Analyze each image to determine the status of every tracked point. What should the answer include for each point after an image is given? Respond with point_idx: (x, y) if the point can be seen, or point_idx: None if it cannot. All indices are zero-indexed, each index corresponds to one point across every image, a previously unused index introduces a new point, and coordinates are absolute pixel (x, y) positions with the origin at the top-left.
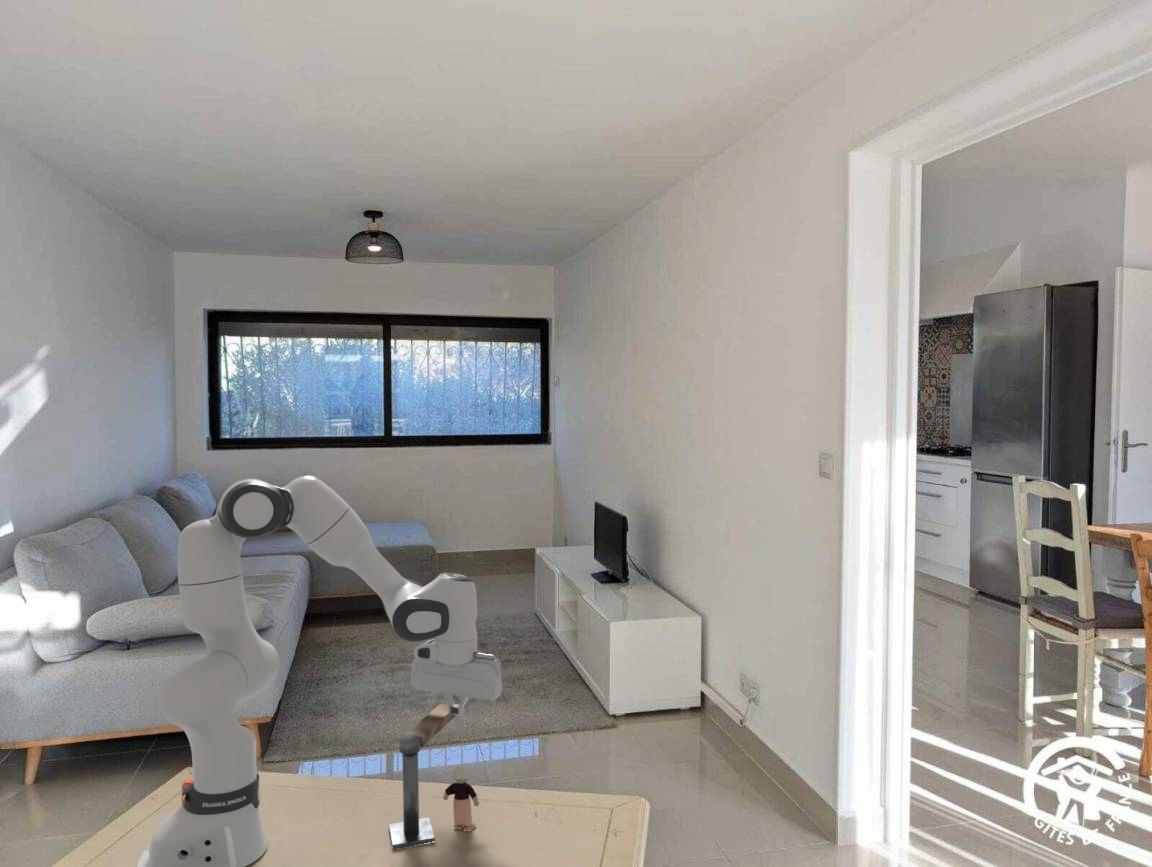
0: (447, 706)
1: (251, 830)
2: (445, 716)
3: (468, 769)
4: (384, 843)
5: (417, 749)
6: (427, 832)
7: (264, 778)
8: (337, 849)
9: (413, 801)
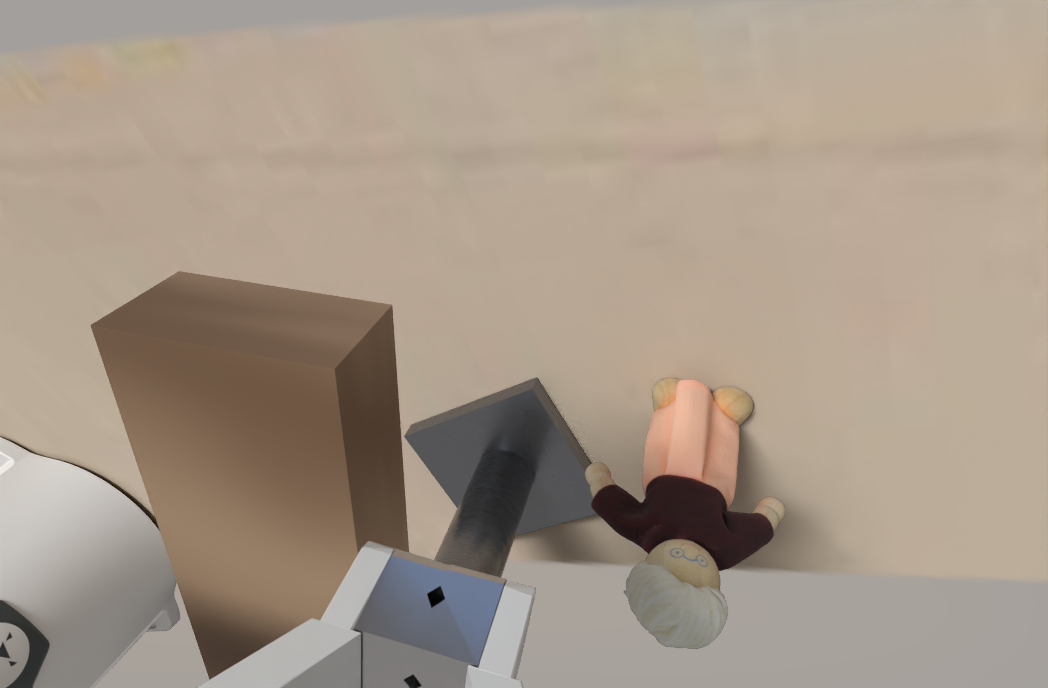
0: (237, 417)
1: (104, 622)
2: None
3: (724, 620)
4: (443, 498)
5: None
6: (570, 482)
7: None
8: None
9: None
